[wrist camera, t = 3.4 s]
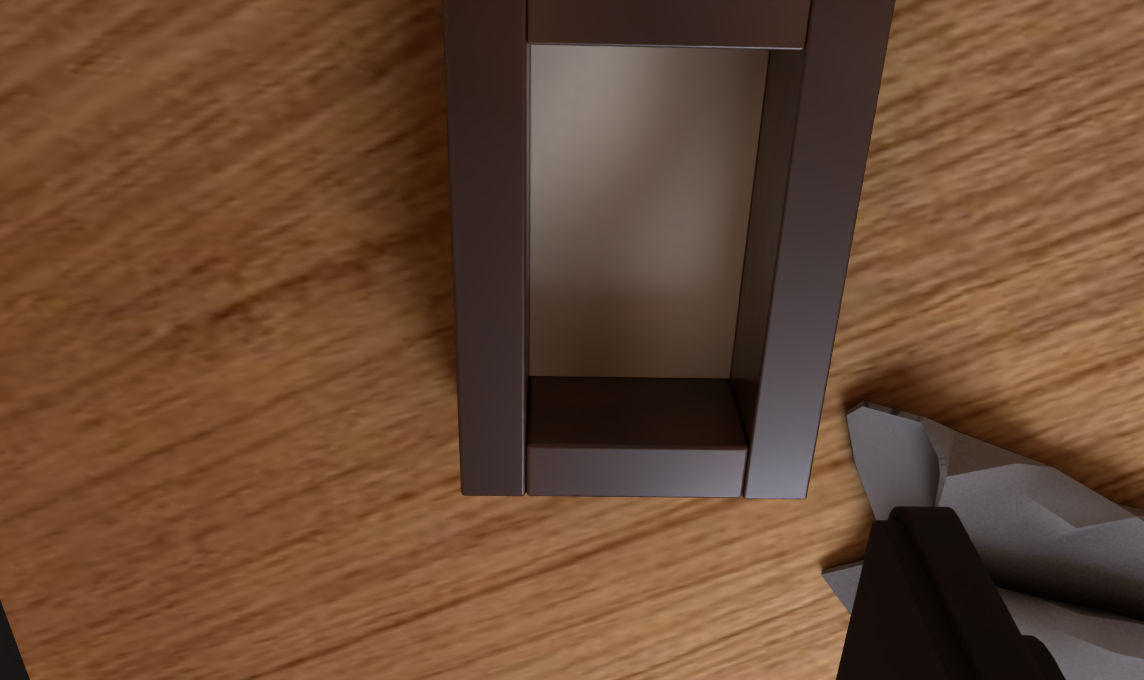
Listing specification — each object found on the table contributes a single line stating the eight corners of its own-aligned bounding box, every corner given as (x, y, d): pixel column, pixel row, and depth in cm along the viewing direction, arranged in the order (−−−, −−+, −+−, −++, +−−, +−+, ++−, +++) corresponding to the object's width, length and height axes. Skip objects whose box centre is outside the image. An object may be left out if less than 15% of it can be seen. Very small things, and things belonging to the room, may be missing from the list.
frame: (854, -61, 19) (902, -34, 16) (779, 422, 24) (806, 500, 22) (455, -71, 19) (439, -45, 16) (471, 419, 24) (460, 496, 21)
